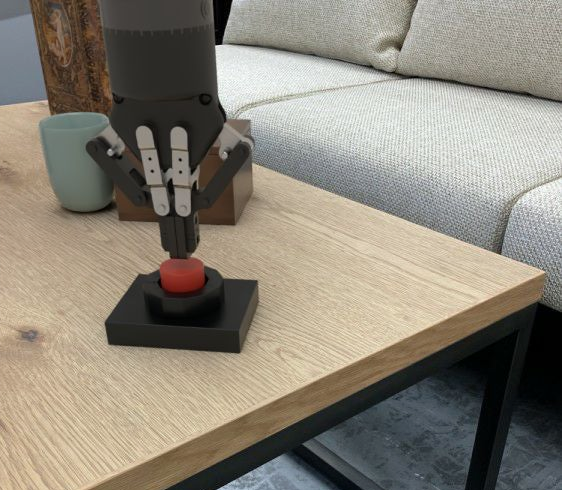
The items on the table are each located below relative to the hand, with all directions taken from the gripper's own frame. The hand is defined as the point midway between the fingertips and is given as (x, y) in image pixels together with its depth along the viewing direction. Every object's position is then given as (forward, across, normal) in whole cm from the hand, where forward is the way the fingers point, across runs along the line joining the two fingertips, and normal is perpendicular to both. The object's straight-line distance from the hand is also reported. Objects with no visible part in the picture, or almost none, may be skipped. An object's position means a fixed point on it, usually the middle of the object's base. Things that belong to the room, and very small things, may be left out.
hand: (181, 255), depth 57 cm
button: (+3, 0, 0) cm, 3 cm away
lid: (-2, +7, -28) cm, 29 cm away
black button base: (+6, 0, 0) cm, 6 cm away
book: (+6, +31, -58) cm, 66 cm away
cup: (+6, +19, -26) cm, 33 cm away
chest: (+6, +7, -28) cm, 29 cm away
